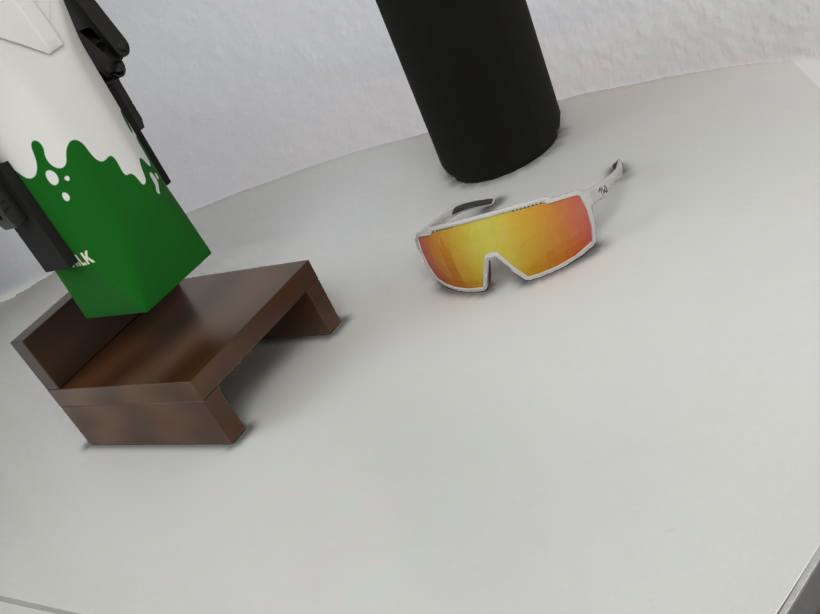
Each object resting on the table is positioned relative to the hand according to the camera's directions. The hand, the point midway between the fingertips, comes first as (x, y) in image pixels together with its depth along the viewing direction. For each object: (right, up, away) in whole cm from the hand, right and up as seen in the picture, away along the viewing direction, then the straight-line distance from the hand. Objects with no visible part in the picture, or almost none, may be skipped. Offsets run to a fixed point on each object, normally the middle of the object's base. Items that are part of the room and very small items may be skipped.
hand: (110, 225), depth 65 cm
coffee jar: (+27, +13, +18) cm, 35 cm away
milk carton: (+2, -3, +3) cm, 5 cm away
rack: (+5, -8, +8) cm, 13 cm away
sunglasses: (+28, +1, +5) cm, 29 cm away
